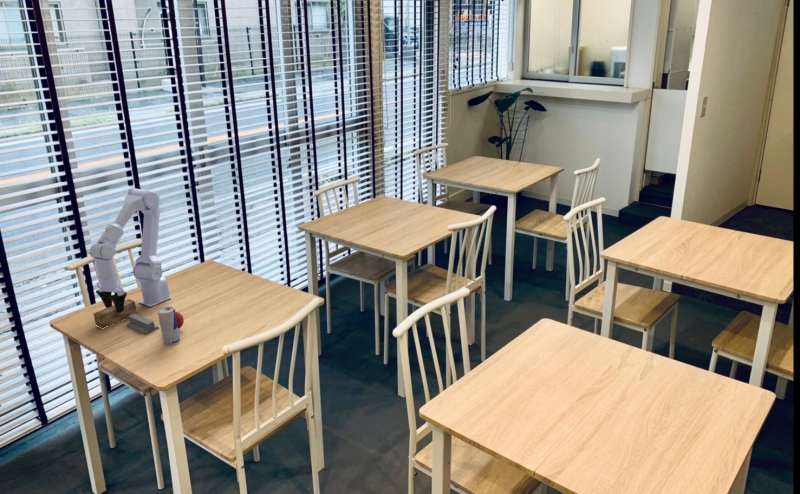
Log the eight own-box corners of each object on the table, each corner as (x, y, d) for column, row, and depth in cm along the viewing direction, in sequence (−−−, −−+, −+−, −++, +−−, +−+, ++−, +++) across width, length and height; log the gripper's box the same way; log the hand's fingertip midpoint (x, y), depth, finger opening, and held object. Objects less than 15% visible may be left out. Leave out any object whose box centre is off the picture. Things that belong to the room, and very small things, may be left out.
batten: (131, 312, 238) (128, 299, 236) (137, 314, 236) (134, 301, 234) (96, 327, 228) (93, 313, 226) (102, 329, 225) (99, 316, 223)
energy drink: (182, 338, 216) (177, 306, 212) (176, 346, 211) (170, 313, 207) (167, 338, 217) (161, 306, 213) (160, 345, 212) (154, 313, 208)
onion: (181, 334, 219) (178, 313, 216) (165, 334, 219) (161, 313, 217) (187, 326, 225) (183, 306, 222) (171, 326, 225) (167, 306, 222)
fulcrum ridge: (139, 320, 231) (137, 312, 230) (158, 328, 224) (157, 320, 223) (126, 325, 227) (125, 317, 226) (146, 334, 220) (144, 325, 219)
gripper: (85, 274, 226) (93, 308, 231) (107, 282, 218) (115, 318, 223) (104, 267, 232) (111, 301, 236) (126, 275, 223) (133, 310, 228)
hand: (114, 309), depth 230 cm, fingers open, 7 cm apart
